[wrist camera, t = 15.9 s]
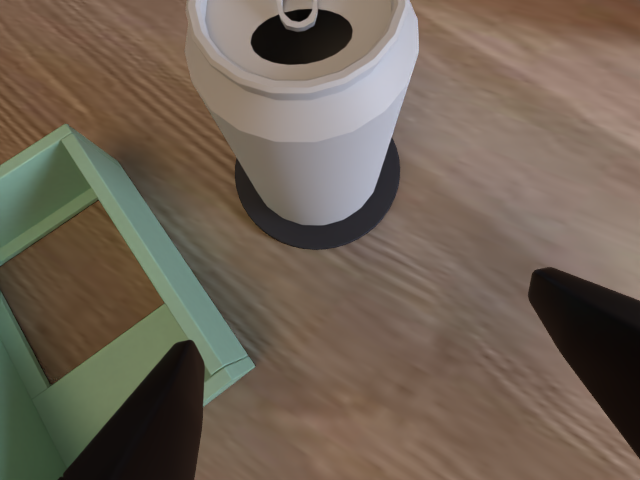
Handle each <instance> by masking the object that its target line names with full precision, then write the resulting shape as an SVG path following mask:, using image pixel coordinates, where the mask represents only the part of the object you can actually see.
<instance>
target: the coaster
mask: <svg viewBox="0 0 640 480" xmlns="http://www.w3.org/2000/svg"><path fill="white" fill-rule="evenodd" d="M399 178H400V164H399V157H398V152H397V148H396V146H395V143H394V141H393V139H392V137H391V140H390V143H389V147H388V150H387V153H386V156H385V159H384V162H383V165H382V168H381V172H380V175H379V177H378V180H377V183H376V186H375V189H374V192H373V193H372V195H371V196H370V197H369V198H368V200H367V201H366V202H365V204H364V205H363V206H362V207H361V208H360V209H359V210H357V211H356V212H354V213H353V214H351V215H350V216H348V217H347V218H345V219H344V220H341V221H337V222H334V223H330V224H327V225H301V224H298V223H295V222H292V221H289V220H286V219H284V218H282V217H281V216H279V215H278V214H277V213H275V212H274V211H273V210H271V209H270V208H269V207H267V206H266V204H265V203H264V201H263V200H262V198H261V197H260V195H259V194H258V192H257V191H256V189H255V188H254V186H253V184H252V182H251V181H250V179H249V177H248V176H247V174H246V172H245V171H244V169H243V167H242V166H241V164H240V162H239V161H238V159H236V165H235V181H236V188H237V191H238V195H239V198H240V200H241V203H242V205H243V207H244V209H245V210H246V212H247V214H248V215H249V216H250V218H251V219H252V220H253V221H254V222H255V224H256V225H257V226H258V227H259V228H261V229H262V230H263V231H264V232H265V233H267V234H268V235H269V236H271V237H272V238H274V239H276V240H278V241H280V242H282V243H285V244H287V245H290V246H293V247H298V248H303V249H313V250H318V249H329V248H335V247H339V246H342V245H345V244H348V243H350V242H353V241H355V240H357V239H359V238H360V237H362V236H363V235H365V234H367V233H368V232H369V231H370V230H371V229H373V228H374V227H375V226H376V225H377V224H378V223H379V222H380V221H381V220H382V218H383V217H384V216H385V214H386V213H387V211H388V210H389V208H390V206H391V204H392V202H393V200H394V198H395V195H396V192H397V189H398V184H399Z"/></svg>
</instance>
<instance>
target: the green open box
mask: <svg viewBox="0 0 640 480" xmlns="http://www.w3.org/2000/svg"><path fill="white" fill-rule="evenodd" d="M97 200H99V201H100V202H101V204H102V206H103V207H104V209H105V210H106V212H107V213H108V215H109V217H110V218H111V220H112V221H113V223H114V224H115V226H116V228H117V229H118V231H119V232H120V234H121V235H122V237H123V238H124V240H125V242H126V243H127V245H128V246H129V248H130V249H131V251H132V253H133V254H134V256H135V257H136V259H137V260H138V262H139V264H140V265H141V267H142V268H143V270H144V271H145V273H146V275H147V276H148V278H149V279H150V281H151V282H152V284H153V286H154V287H155V289H156V290H157V292H158V293H159V295H160V297H161V298H162V300H163V301H164V304H163V305H162V306H160V307H159V308H158V309H156V310H155V311H153V312H152V313H151V314H149V315H148V316H147V317H145V318H144V319H142V320H141V321H140V322H138V323H137V324H136V325H134V326H133V327H131V328H130V329H129V330H127V331H126V332H125V333H123V334H122V335H120V336H119V337H118V338H116V339H115V340H114V341H112V342H111V343H109V344H108V345H107V346H105V347H104V348H103V349H101V350H100V351H98V352H97V353H96V354H94V355H93V356H92V357H90V358H89V359H87V360H86V361H85V362H83V363H82V364H81V365H79V366H78V367H76V368H75V369H74V370H72V371H71V372H70V373H68V374H67V375H65V376H64V377H63V378H61V379H60V380H58V381H57V382H56V383H54V384H53V385H52V386H51V385H50V383H49V382H48V380H47V378H46V376H45V374H44V372H43V370H42V368H41V366H40V365H39V363H38V361H37V359H36V357H35V355H34V353H33V351H32V349H31V347H30V346H29V344H28V342H27V340H26V338H25V336H24V334H23V332H22V330H21V329H20V327H19V325H18V323H17V321H16V319H15V317H14V315H13V313H12V311H11V310H10V308H9V306H8V304H7V302H6V300H5V298H4V296H3V294H2V293H1V291H0V480H58V478H59V477H63V473H64V472H65V470H66V469H67V468H68V467H69V466H70V465H71V463H72V462H73V461H74V460H75V459H76V458H77V457H78V455H79V454H80V453H81V452H82V451H83V450H84V448H85V447H86V446H87V445H88V444H89V443H90V441H91V440H92V439H93V438H94V437H95V436H96V434H97V433H98V432H99V431H100V430H101V429H102V427H103V426H104V425H105V424H106V423H107V422H108V420H109V419H110V418H111V417H112V416H113V415H114V413H115V412H116V411H117V410H118V409H119V408H120V406H121V405H122V404H123V403H124V402H125V401H126V399H127V398H128V397H129V396H130V395H131V394H132V392H133V391H134V390H135V389H136V388H137V387H138V386H139V384H140V383H141V382H142V381H143V380H144V379H145V377H146V376H147V375H148V374H149V373H150V372H151V370H152V369H153V368H154V367H155V366H156V365H157V363H158V362H159V361H160V360H161V359H162V358H163V356H164V355H165V354H166V353H167V352H168V351H169V349H170V348H171V347H172V346H173V345H174V344H175V343H177V342H180V341H185V340H192V341H194V343H195V345H196V346H197V348H198V350H199V352H200V354H201V356H202V358H203V360H204V365H205V376H204V399H203V407H204V406H205V405H207V404H208V403H209V402H210V401H212V400H213V399H214V398H216V397H217V396H218V395H220V394H221V393H222V392H223V391H225V390H226V389H227V388H229V387H230V386H231V385H232V384H234V383H235V382H236V381H238V380H239V379H240V378H241V377H243V376H244V375H245V374H247V373H248V372H249V371H251V370H252V369H253V368H254V367H255V365H254V363H253V362H252V360H251V359H250V357H249V356H248V354H247V353H246V351H245V350H244V348H243V347H242V345H241V344H240V342H239V341H238V339H237V338H236V336H235V335H234V333H233V332H232V330H231V329H230V327H229V326H228V324H227V323H226V322H225V320H224V319H223V317H222V316H221V314H220V313H219V311H218V310H217V308H216V307H215V305H214V304H213V302H212V301H211V299H210V298H209V296H208V295H207V293H206V292H205V290H204V289H203V287H202V286H201V284H200V283H199V281H198V280H197V278H196V277H195V275H194V274H193V272H192V271H191V269H190V268H189V266H188V265H187V263H186V262H185V260H184V259H183V257H182V256H181V254H180V253H179V251H178V250H177V248H176V247H175V246H174V244H173V243H172V241H171V240H170V238H169V237H168V235H167V234H166V232H165V231H164V229H163V228H162V226H161V225H160V223H159V222H158V220H157V219H156V217H155V216H154V214H153V213H152V211H151V210H150V208H149V207H148V205H147V204H146V202H145V201H144V199H143V198H142V196H141V195H140V193H139V192H138V190H137V189H136V187H135V186H134V184H133V183H132V181H131V180H130V178H129V177H128V175H127V174H126V172H125V171H124V170H123V168H122V166H121V165H120V163H119V162H118V161H117V160H115V159H114V158H113V157H111V156H110V155H109V154H107V153H106V152H105V151H103V150H102V149H100V148H99V147H98V146H96V145H95V144H94V143H92V142H91V141H90V140H88V139H87V138H85V137H84V136H83V135H81V134H80V133H79V132H77V131H76V130H75V129H73V128H72V127H71V126H69V125H68V124H64V125H62V126H61V127H59V128H58V129H56V130H55V131H53V132H51V133H50V134H48V135H47V136H45V137H44V138H42V139H41V140H39V141H37V142H36V143H34V144H33V145H31V146H30V147H28V148H26V149H25V150H23V151H22V152H20V153H19V154H17V155H16V156H14V157H12V158H11V159H9V160H8V161H6V162H5V163H3V164H2V165H0V266H1V265H2V264H4V263H5V262H7V261H8V260H10V259H11V258H13V257H14V256H16V255H17V254H19V253H20V252H22V251H23V250H25V249H26V248H28V247H29V246H31V245H32V244H33V243H35V242H36V241H38V240H39V239H41V238H42V237H44V236H45V235H47V234H48V233H50V232H51V231H53V230H54V229H56V228H57V227H59V226H60V225H62V224H63V223H65V222H66V221H68V220H69V219H71V218H72V217H74V216H75V215H76V214H78V213H79V212H81V211H82V210H84V209H85V208H87V207H88V206H90V205H91V204H93V203H94V202H96V201H97ZM247 356H248V357H247Z"/></svg>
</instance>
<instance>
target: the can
mask: <svg viewBox="0 0 640 480" xmlns="http://www.w3.org/2000/svg"><path fill="white" fill-rule="evenodd" d="M186 14H187V19H188V30H187V37H186V45H185V55H186V60H187V64H188V68H189V72H190V77H191V81H192V83H193V85H194V87H195V88H196V90H197V92H198V93H199V95H200V97H201V98H202V100H203V102H204V104H205V105H206V107H207V109H208V110H209V112H210V114H211V115H212V117H213V119H214V120H215V122H216V124H217V125H218V127H219V129H220V130H221V132H222V134H223V135H224V137H225V139H226V140H227V142H228V144H229V146H230V147H231V149H232V151H233V152H234V154H235V156H236V157H237V159H238V161H239V162H240V164H241V166H242V167H243V169H244V171H245V172H246V174H247V176H248V177H249V179H250V181H251V182H252V184H253V186H254V188H255V189H256V191H257V192H258V194H259V195H260V197H261V198H262V200H263V201H264V203H265V204H266V206H267V207H269V208H270V209H271V210H273V211H274V212H275V213H277V214H278V215H279V216H281V217H282V218H284V219H286V220H289V221H292V222H295V223H298V224H301V225H327V224H330V223H334V222H337V221H341V220H344V219H345V218H347V217H348V216H350V215H351V214H353V213H354V212H356V211H357V210H359V209H360V208H361V207H362V206H363V205H364V204H365V202H366V201H367V200H368V198H369V197H370V196H371V195H372V193H373V192H374V189H375V186H376V183H377V180H378V177H379V175H380V172H381V168H382V165H383V162H384V159H385V156H386V153H387V150H388V147H389V143H390V140H391V137H392V134H393V131H394V128H395V125H396V122H397V118H398V115H399V112H400V109H401V106H402V103H403V100H404V97H405V93H406V90H407V87H408V84H409V81H410V78H411V75H412V72H413V69H414V65H415V62H416V59H417V56H418V53H419V40H418V19H417V17H416V15H415V12H414V10H413V8H412V5H411V3H410V1H409V0H187V4H186Z"/></svg>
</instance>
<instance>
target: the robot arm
mask: <svg viewBox="0 0 640 480" xmlns="http://www.w3.org/2000/svg"><path fill="white" fill-rule="evenodd" d="M528 297H529V301H530V303H531V305H532V306H533V308H534V310H535V311H536V313H537V315H538V316H539V318H540V320H541V321H542V323H543V325H544V326H545V328H546V330H547V331H548V333H549V335H550V336H551V338H552V340H553V341H554V343H555V345H556V346H557V348H558V349H559V351H560V352H561V354H562V355H563V357H564V358H565V360H566V361H567V362H568V364H569V365H570V366H571V368H572V369H573V370H574V372H575V373H576V374H577V376H578V377H579V378H580V380H581V381H582V382H583V384H584V385H585V386H586V388H587V389H588V390H589V392H590V393H591V394H592V396H593V397H594V398H595V400H596V401H597V402H598V404H599V405H600V406H601V408H602V409H603V410H604V412H605V413H606V414H607V416H608V417H609V418H610V420H611V421H612V422H613V424H614V425H615V426H616V428H617V429H618V430H619V432H620V433H621V434H622V436H623V437H624V438H625V440H626V441H627V443H628V444H629V445H630V447H631V448H632V449H633V451H634V452H635V453H636V455H637V456H638V457H639V459H640V301H639V300H637V299H634V298H631V297H629V296H626V295H623V294H621V293H618V292H616V291H613V290H610V289H608V288H605V287H602V286H600V285H597V284H595V283H592V282H589V281H587V280H584V279H581V278H579V277H576V276H574V275H571V274H568V273H566V272H563V271H560V270H558V269H555V268H552V267H547V268H542V269H537V270H535V271H534V272H533V273H532V277H531V282H530V287H529V292H528ZM204 376H205V365H204V360H203V358H202V356H201V354H200V352H199V350H198V348H197V346H196V345H195V343H194V341H192V340H185V341H180V342H177V343H175V344H174V345H173V346H172V347H171V348H170V349H169V351H168V352H167V353H166V354H165V355H164V356H163V358H162V359H161V360H160V361H159V362H158V363H157V365H156V366H155V367H154V368H153V369H152V370H151V372H150V373H149V374H148V375H147V376H146V377H145V379H144V380H143V381H142V382H141V383H140V384H139V386H138V387H137V388H136V389H135V390H134V391H133V392H132V394H131V395H130V396H129V397H128V398H127V399H126V401H125V402H124V403H123V404H122V405H121V406H120V408H119V409H118V410H117V411H116V412H115V413H114V415H113V416H112V417H111V418H110V419H109V420H108V422H107V423H106V424H105V425H104V426H103V427H102V429H101V430H100V431H99V432H98V433H97V434H96V436H95V437H94V438H93V439H92V440H91V441H90V443H89V444H88V445H87V446H86V447H85V448H84V450H83V451H82V452H81V453H80V454H79V455H78V457H77V458H76V459H75V460H74V461H73V462H72V463H71V465H70V466H69V467H68V468H67V469H66V470H65V472H64V473H63V477H59V478H58V480H194V477H195V470H196V464H197V457H198V451H199V444H200V438H201V431H202V420H203V399H204Z"/></svg>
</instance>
